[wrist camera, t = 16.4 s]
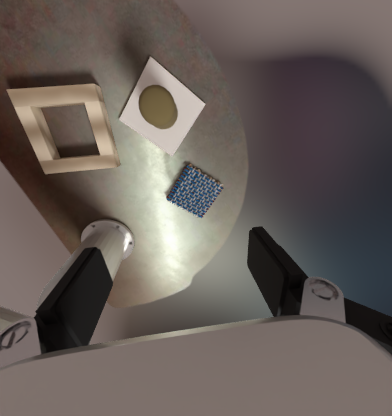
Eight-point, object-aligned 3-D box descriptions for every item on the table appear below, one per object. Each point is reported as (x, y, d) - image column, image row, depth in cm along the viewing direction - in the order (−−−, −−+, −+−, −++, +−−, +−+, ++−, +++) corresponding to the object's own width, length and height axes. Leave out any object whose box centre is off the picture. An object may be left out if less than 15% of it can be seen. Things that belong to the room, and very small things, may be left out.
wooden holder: (120, 164, 37) (116, 167, 35) (53, 171, 36) (44, 174, 34) (100, 86, 31) (94, 83, 29) (19, 92, 30) (6, 89, 28)
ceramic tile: (172, 156, 37) (172, 156, 37) (120, 119, 34) (119, 119, 33) (205, 104, 34) (205, 104, 33) (150, 57, 30) (150, 56, 30)
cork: (139, 103, 32) (123, 91, 22) (168, 87, 32) (164, 68, 22) (156, 134, 35) (148, 137, 25) (183, 120, 34) (185, 117, 24)
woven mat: (201, 217, 45) (202, 221, 43) (165, 198, 42) (164, 201, 40) (224, 184, 42) (226, 187, 40) (187, 161, 39) (188, 162, 37)
